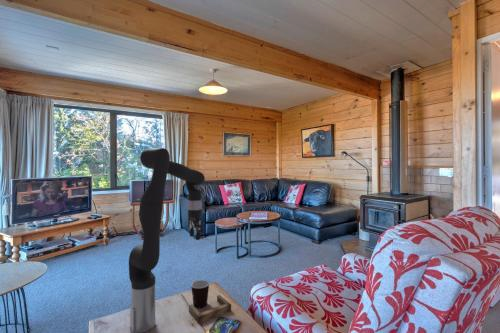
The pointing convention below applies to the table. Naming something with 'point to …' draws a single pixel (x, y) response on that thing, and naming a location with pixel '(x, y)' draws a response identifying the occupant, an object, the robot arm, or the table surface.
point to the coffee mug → (200, 293)
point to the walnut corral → (211, 310)
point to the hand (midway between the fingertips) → (194, 238)
